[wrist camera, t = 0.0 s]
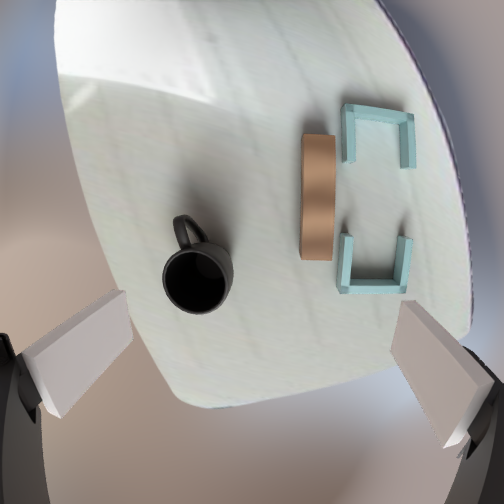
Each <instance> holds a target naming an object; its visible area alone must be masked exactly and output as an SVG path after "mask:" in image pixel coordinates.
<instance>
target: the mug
mask: <svg viewBox="0 0 504 504" xmlns="http://www.w3.org/2000/svg"><path fill="white" fill-rule="evenodd" d="M185 225H186V226H187V227H188V228H189V229H190V230H191V231H192V232H193V234H194V235H195V236H196V238H197V240H198V243H195V244H191V243H190V240H189V237H188V234H187V231H186V227H185ZM173 226H174V231H175V235H176V238H177V241H178V244H179V246H180V248H181V250H179V251H178V252H176V253H175V254H173V255H172V256H171V257H170V258H169V259H168V261H167V263H166V264H165V266H164V270H163V275H162V282H163V287H164V290H165V292H166V295H167V296H168V298H169V299H170V301H171V302H172V303H173V304H174V305H175V306H176V307H178V308H179V309H181V310H182V311H185V312H187V313H191V314H196V315H198V314H207V313H210V312H212V311H214V310H216V309H217V308H219V307H220V306H221V305H222V303H223V302H224V301H225V299H226V297H227V295H228V293H229V291H230V288H231V286H232V282H233V274H234V273H233V264H232V261H231V258H230V256H229V254H228V253H227V251H226V250H225V249H224V248H222V247H221V246H218V245H215V244H213V243H209V241H208V238H207V236H206V234H205V233H204V231H203V230H202V229H201V228H200V227H199V226H198V224H197V223H196V222H195V221H194V220H193V219H192V218H191V217H190V216H188V215H181V216H177V217H175V218H174V219H173Z"/></svg>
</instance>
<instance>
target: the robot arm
mask: <svg viewBox="0 0 504 504" xmlns="http://www.w3.org/2000/svg"><path fill="white" fill-rule="evenodd" d="M132 340H133V334H132V329H131V324H130V317H129V312H128V305H127V299H126V292H125V291H124V290H115V289H113V290H111V291H110V292H108V293H107V294H105V295H104V296H102V297H100V298H99V299H97V300H96V301H94V302H93V303H91V304H90V305H89V306H87V307H85V308H84V309H82V310H81V311H80V312H78V313H76V314H75V315H73V316H72V317H71V318H69V319H68V320H66V321H65V322H63V323H62V324H60V325H59V326H57V327H56V328H55V329H53V330H52V331H50V332H49V333H47V334H46V335H45V336H43V337H42V338H40V339H39V340H37V341H36V342H35V343H33V344H32V345H31V346H29V347H28V348H26V349H25V350H24V351H22V352H21V353H20V354H18V355H17V356H16V355H15V353H14V350H13V347H12V344H11V342H10V339H9V336H8V335H7V334H5V333H0V504H50V501H49V495H48V490H47V484H46V477H45V469H44V460H43V450H42V432H41V410H40V408H39V406H38V404H39V403H40V402H41V401H43V403H44V405H45V407H46V409H47V411H48V412H49V413H51V414H53V415H55V416H57V417H59V418H61V419H62V417H64V415H65V414H66V413H67V412H68V411H69V410H70V409H71V407H72V406H73V405H74V404H75V403H76V402H77V401H78V399H79V398H80V397H81V396H82V395H83V394H84V393H85V392H86V391H87V389H88V388H89V387H90V386H91V385H92V384H93V383H94V382H95V381H96V379H97V378H98V377H99V376H100V375H101V374H102V373H103V372H104V371H105V369H106V368H107V367H108V366H109V365H110V364H111V363H112V362H113V361H114V360H115V359H116V358H117V356H118V355H119V354H120V353H121V352H122V351H123V350H124V349H125V348H126V347H127V346H128V345H129V344H130V343H131V341H132ZM390 352H391V354H392V356H393V357H394V359H395V361H396V362H397V364H398V366H399V368H400V369H401V371H402V373H403V374H404V376H405V378H406V380H407V382H408V383H409V385H410V387H411V389H412V390H413V392H414V394H415V396H416V398H417V400H418V401H419V403H420V405H421V407H422V409H423V411H424V413H425V415H426V416H427V418H428V420H429V422H430V424H431V426H432V428H433V430H434V432H435V434H436V436H437V438H438V440H439V442H440V444H441V447H442V448H446V447H449V446H452V445H455V444H457V443H459V442H460V441H461V439H462V438H463V436H464V435H465V433H466V432H467V431H468V433H469V435H470V436H471V438H470V439H469V440H468V442H467V443H466V445H465V446H464V448H463V449H462V450H461V452H460V453H459V454H458V456H457V458H459V457H460V456H461V455H462V454H463V453H464V454H463V457H462V460H461V463H460V466H459V469H458V472H457V474H456V477H455V480H454V482H453V485H452V487H451V490H450V492H449V495H448V497H447V499H446V501H445V503H444V504H504V383H502V382H501V381H500V380H499V379H498V378H497V377H496V375H495V374H494V373H493V372H492V371H491V370H490V369H489V368H488V367H487V366H485V364H484V362H483V361H482V360H479V357H478V356H477V355H476V354H475V353H474V352H473V351H471V350H469V349H468V348H466V347H464V346H461V345H460V344H459V342H458V341H457V340H456V339H455V338H454V337H453V336H452V335H451V334H450V333H449V332H448V331H447V330H446V329H445V328H444V327H443V326H442V325H440V324H439V323H438V322H437V321H436V320H435V319H434V318H433V317H432V316H431V315H430V314H429V313H428V312H427V311H426V310H425V309H424V308H423V307H422V306H421V305H419V304H418V303H417V302H416V301H415V300H411V301H401V306H400V311H399V316H398V320H397V325H396V329H395V334H394V338H393V342H392V346H391V350H390Z"/></svg>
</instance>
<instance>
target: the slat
mask: <svg viewBox="0 0 504 504" xmlns="http://www.w3.org/2000/svg"><path fill="white" fill-rule="evenodd" d="M335 178H336V150H335V136H334V135H319V134H303V137H302V139H301V221H300V249H299V253H300V257H301V260H326V261H332V253H333V237H334V217H335Z"/></svg>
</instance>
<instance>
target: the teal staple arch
mask: <svg viewBox="0 0 504 504" xmlns="http://www.w3.org/2000/svg"><path fill="white" fill-rule="evenodd" d="M355 118H356V119H365V120H372V121H379V122H386V123H392V124H398V125H399V131H400V157H401V169H415V168H416V140H415V124H414V114H410V113H405V112H400V111H395V110H389V109H383V108H377V107H370V106H363V105H355V104H346V103H345V105H344V106H343V107H342V108H341V124H342V163H353V162H355V161H356V138H355Z"/></svg>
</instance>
